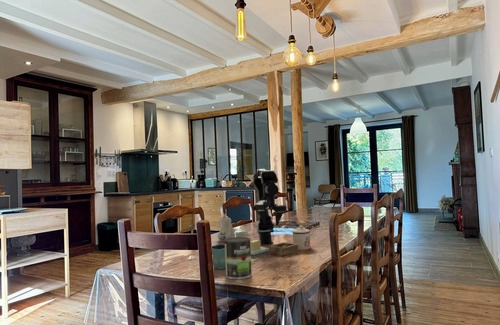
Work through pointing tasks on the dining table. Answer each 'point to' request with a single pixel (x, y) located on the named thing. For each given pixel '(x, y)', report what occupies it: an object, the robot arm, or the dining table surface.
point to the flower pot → (219, 256)
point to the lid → (257, 247)
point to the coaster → (260, 254)
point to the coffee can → (238, 258)
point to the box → (283, 249)
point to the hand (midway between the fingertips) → (270, 224)
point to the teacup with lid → (301, 238)
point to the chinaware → (229, 229)
